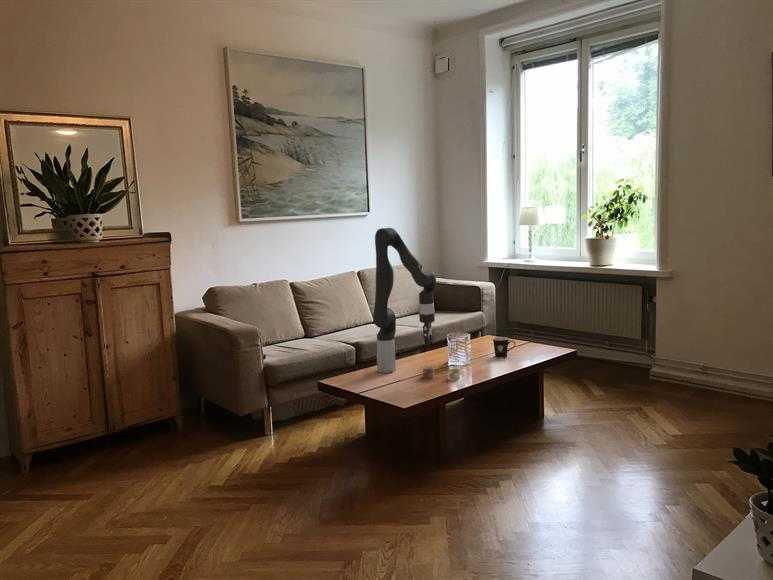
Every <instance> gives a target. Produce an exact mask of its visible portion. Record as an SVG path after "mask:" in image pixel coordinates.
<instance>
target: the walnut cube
mask: <svg viewBox="0 0 773 580" xmlns="http://www.w3.org/2000/svg"><path fill="white" fill-rule="evenodd" d="M422 378H423V379H425V380H427V379H428V380H429V379H430V380H434V378H435V366H432V365H431V366H426V365H425V366H424V367H423V368H422Z"/></svg>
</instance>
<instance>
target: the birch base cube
mask: <svg viewBox="0 0 773 580" xmlns="http://www.w3.org/2000/svg"><path fill="white" fill-rule="evenodd" d="M448 372H449V374H448V377H449V379H460V376H461V366H458V365H457V366H456V365H455V366H453V365H452V366H449V369H448Z"/></svg>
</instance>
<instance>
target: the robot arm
mask: <svg viewBox="0 0 773 580" xmlns="http://www.w3.org/2000/svg"><path fill="white" fill-rule="evenodd" d="M374 246H375V291H374V292H375V293H374V294H375V299H374V306H373V314H372V315H373V316H372V318H373V319H372V320H373V323H374V325H375V326H376V327H377V328H379V331H378V333H377V334H376V346H377V347H376V350H377V353H376V369H377V370H376V371H377V373H382V374H391V373H394V372H395V371H396V369H397V368H396V367H397V366H396V344H395V343H396V342H395V335H396V331H397V329H396V328H397V326H396V324H397V322H396V321H397V320H396V319H397V317H396V314H395V311H394V310H393V309H392V308H390V307H388V306H389V305H388V303H389V298H390V295H391V293H392V290H393V288H394V279H395V278H394V276H395V275H394V269H393V266H392V264H391V262H390V260H389V255H388V254H389V253H388V251H389V249H388V248H389V247H392V248H393V249H394V250H395V251H397V253H398V256H399V259H400V262H401V264H402V265H403V266H404V268H406V270H407V271H408V272H409V273H410V275H411V277H412V279H413V281H414V283H415V284H416V285H417V286H418V287H420V288H423V289H422V290H421V291H420V292H419V293H418V294H419V295H418V299H419V300H418V301H419V302H418V305H419V306H418V315H419V316H418V317H419V323H422V324H423V326H422V339H424V340H423V341H424V342H423V343H424V347H429V346H430V343H432V332H433V331H432V330H433V328H432V326H433V325H432V323H434V322H435V319H436V318H435V317H436V314H435V304H434V301H435V300H434V295H435V289H436V284H437V278H436V275H435V273H434V272H433V271H422V270H423V265H422V263H421V262H420V260H419V259H418V258H417V257H416V256H415V255H414V254H413V253H412V251H411V250H410V249H409V247H408V246H407V244H406V243H405V242H404V240H403V239H402V237H401V235H400V234H399V232H398V231H397V230H396V229H395V228H392V227H382V228H378V229H377V230H376V232H375V236H374Z"/></svg>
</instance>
